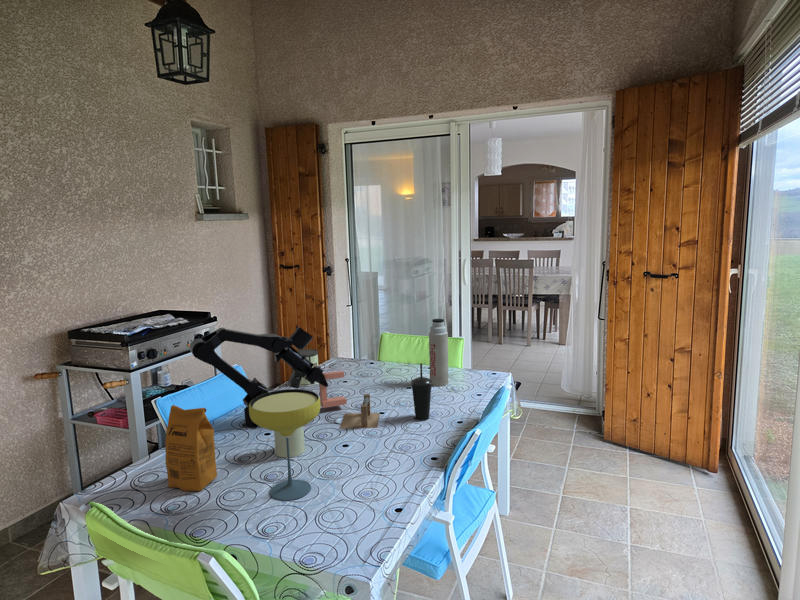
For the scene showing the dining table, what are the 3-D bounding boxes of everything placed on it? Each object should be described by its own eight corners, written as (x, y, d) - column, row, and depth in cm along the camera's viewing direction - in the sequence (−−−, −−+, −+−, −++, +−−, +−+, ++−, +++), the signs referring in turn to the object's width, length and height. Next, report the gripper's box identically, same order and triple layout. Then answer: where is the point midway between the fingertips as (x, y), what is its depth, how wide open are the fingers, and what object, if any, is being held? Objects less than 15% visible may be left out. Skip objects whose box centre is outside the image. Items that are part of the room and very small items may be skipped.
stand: (339, 430, 180) (338, 407, 179) (344, 414, 194) (343, 393, 193) (377, 429, 180) (376, 406, 179) (380, 414, 194) (379, 393, 193)
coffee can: (299, 379, 239) (298, 349, 237) (322, 379, 238) (320, 348, 236) (293, 386, 229) (291, 354, 227) (316, 386, 228) (314, 354, 226)
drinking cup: (431, 422, 185) (430, 366, 182) (409, 421, 186) (408, 366, 183) (434, 414, 192) (433, 360, 189) (413, 413, 194) (412, 360, 190)
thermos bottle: (435, 387, 223) (434, 321, 218) (426, 382, 230) (425, 318, 225) (451, 384, 226) (451, 319, 222) (442, 379, 233) (441, 316, 229)
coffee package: (187, 471, 153) (180, 398, 150) (223, 477, 149) (216, 402, 146) (161, 488, 144) (153, 410, 141) (198, 495, 140) (191, 415, 137)
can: (275, 459, 159) (273, 421, 158) (274, 447, 168) (272, 411, 166) (306, 455, 162) (304, 417, 160) (303, 443, 171) (301, 407, 169)
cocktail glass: (242, 491, 141) (235, 401, 137) (300, 467, 154) (294, 384, 150) (279, 517, 128) (272, 418, 125) (338, 489, 141) (334, 398, 137)
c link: (323, 407, 195) (321, 375, 194) (319, 404, 199) (317, 373, 198) (346, 404, 198) (344, 372, 197) (342, 401, 203) (340, 370, 202)
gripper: (275, 373, 199) (306, 397, 204) (285, 381, 182) (319, 408, 187) (294, 349, 202) (324, 374, 207) (306, 356, 184) (339, 383, 190)
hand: (326, 385), depth 197 cm, fingers closed on c link, 2 cm apart
